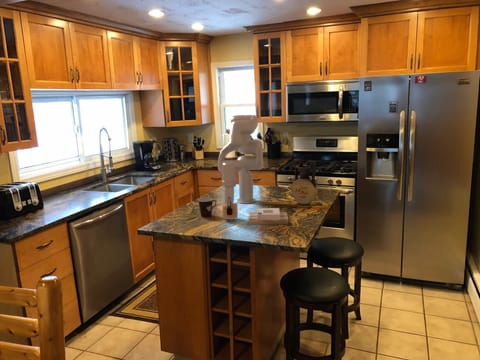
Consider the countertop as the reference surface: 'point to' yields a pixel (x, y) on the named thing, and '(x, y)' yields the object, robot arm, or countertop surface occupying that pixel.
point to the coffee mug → (206, 206)
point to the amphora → (304, 183)
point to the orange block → (234, 211)
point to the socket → (268, 214)
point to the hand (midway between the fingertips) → (230, 212)
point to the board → (254, 220)
